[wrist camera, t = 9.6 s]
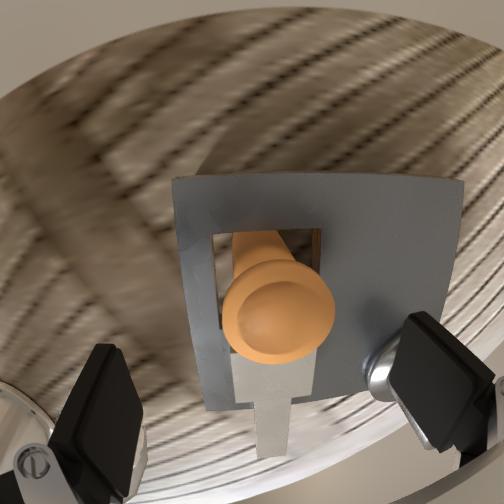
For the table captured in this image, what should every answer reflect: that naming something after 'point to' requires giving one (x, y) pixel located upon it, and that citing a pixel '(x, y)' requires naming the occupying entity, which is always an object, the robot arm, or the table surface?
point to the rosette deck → (332, 273)
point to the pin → (274, 301)
